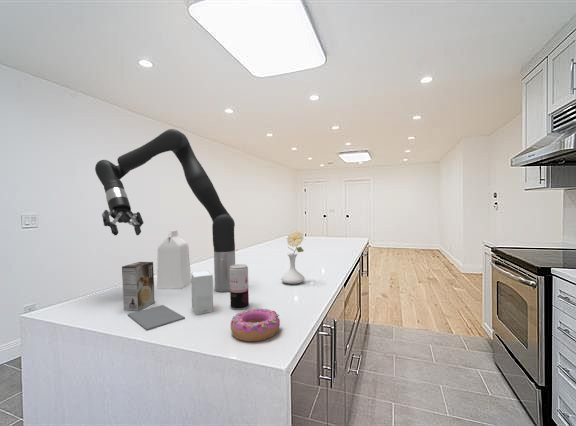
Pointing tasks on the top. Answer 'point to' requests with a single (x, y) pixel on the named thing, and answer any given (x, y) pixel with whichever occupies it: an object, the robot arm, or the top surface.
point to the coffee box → (138, 285)
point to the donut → (255, 324)
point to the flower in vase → (293, 259)
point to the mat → (155, 317)
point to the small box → (202, 292)
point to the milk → (173, 263)
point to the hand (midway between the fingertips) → (127, 234)
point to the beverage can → (239, 286)
